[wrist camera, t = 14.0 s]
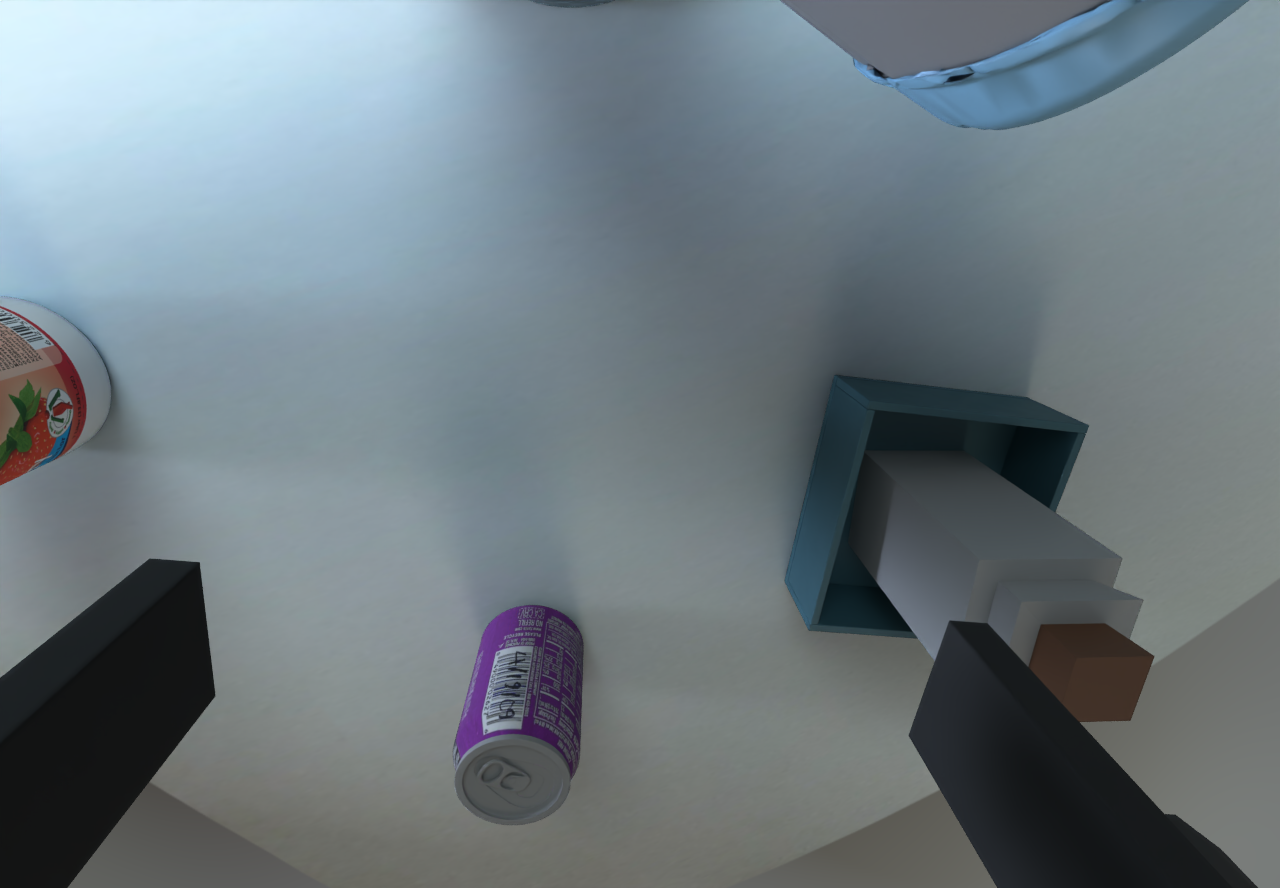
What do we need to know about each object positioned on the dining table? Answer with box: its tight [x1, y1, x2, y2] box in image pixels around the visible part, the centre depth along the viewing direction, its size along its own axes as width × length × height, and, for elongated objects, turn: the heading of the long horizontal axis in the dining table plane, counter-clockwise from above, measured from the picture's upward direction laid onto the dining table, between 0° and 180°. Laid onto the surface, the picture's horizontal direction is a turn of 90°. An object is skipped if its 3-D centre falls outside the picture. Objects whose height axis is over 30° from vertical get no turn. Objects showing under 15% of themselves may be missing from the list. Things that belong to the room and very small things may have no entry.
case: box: [785, 375, 1089, 639], centre depth 41 cm, size 15×13×6 cm
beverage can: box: [453, 605, 583, 825], centre depth 40 cm, size 7×7×12 cm
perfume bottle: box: [848, 450, 1154, 722], centre depth 34 cm, size 7×7×18 cm
